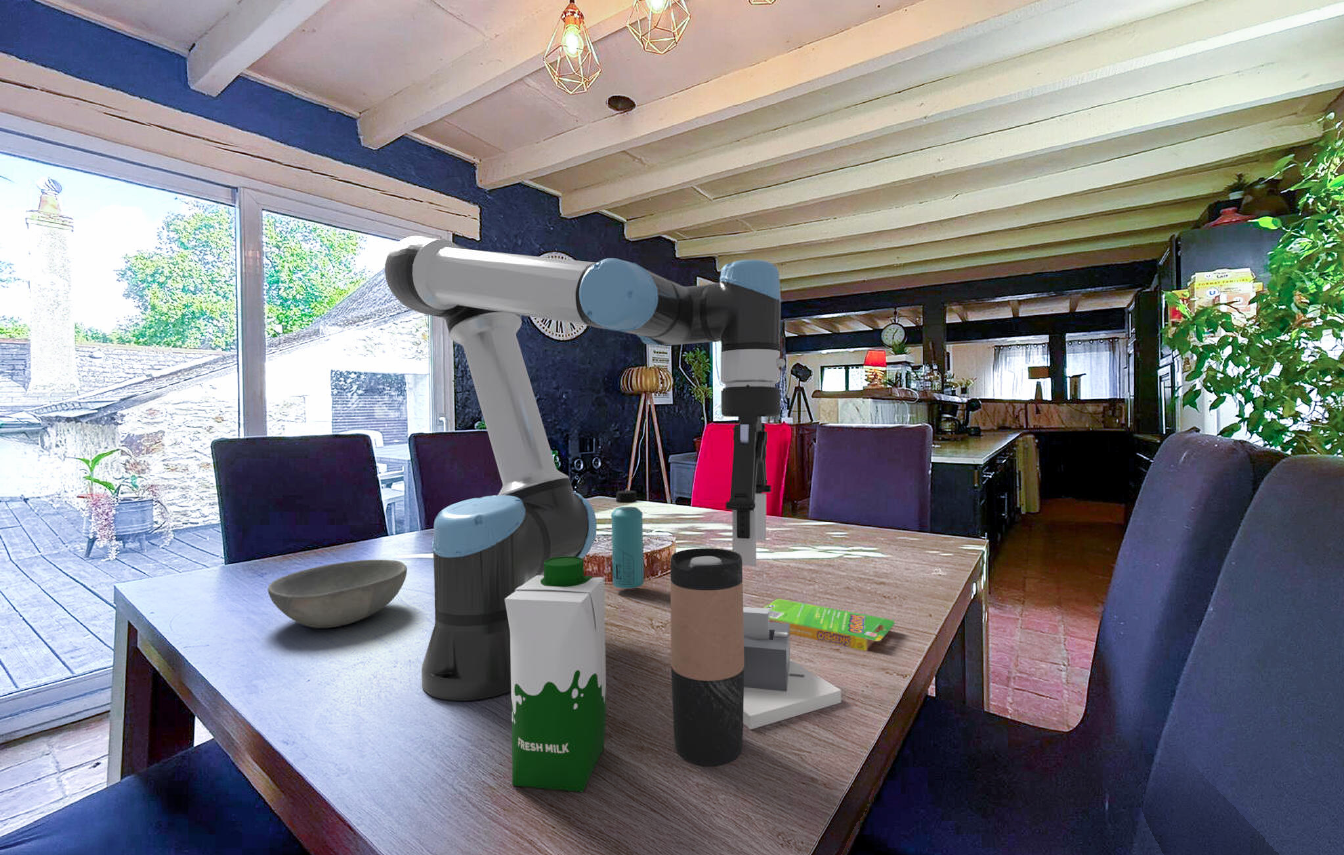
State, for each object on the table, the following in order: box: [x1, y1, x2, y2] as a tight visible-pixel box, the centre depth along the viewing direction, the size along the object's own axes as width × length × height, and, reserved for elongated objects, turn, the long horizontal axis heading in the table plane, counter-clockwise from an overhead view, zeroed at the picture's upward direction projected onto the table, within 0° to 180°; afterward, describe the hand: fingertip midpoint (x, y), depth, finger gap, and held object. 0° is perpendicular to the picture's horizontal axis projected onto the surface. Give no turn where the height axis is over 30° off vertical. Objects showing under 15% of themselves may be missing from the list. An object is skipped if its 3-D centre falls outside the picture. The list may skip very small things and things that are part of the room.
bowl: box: [267, 559, 408, 629], centre depth 100 cm, size 21×21×8 cm
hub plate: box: [743, 606, 842, 730], centre depth 74 cm, size 13×18×10 cm
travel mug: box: [670, 547, 744, 767], centre depth 60 cm, size 8×8×20 cm
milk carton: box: [505, 556, 607, 793], centre depth 57 cm, size 9×9×20 cm
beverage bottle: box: [610, 490, 646, 589], centre depth 113 cm, size 6×7×20 cm
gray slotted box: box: [744, 622, 791, 692], centre depth 74 cm, size 9×9×5 cm
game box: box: [763, 598, 896, 652], centre depth 92 cm, size 3×10×20 cm
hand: (750, 551), depth 74 cm, fingers open, 13 cm apart
